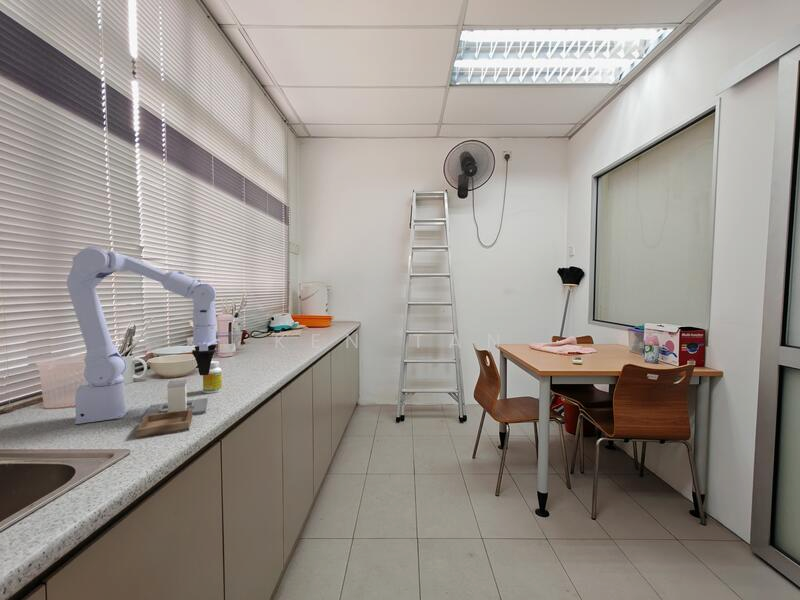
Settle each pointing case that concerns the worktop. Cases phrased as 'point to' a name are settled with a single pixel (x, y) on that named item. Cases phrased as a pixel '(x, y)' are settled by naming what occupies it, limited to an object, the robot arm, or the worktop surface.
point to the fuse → (177, 395)
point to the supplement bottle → (213, 379)
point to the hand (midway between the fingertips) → (204, 372)
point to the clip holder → (196, 405)
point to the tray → (164, 423)
